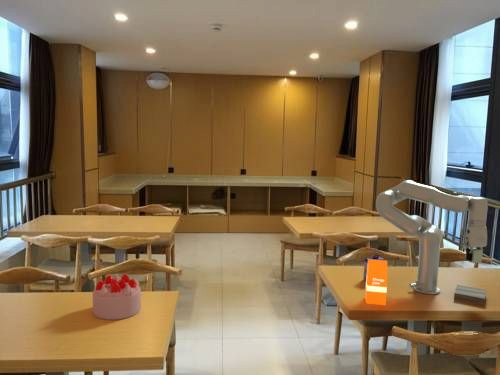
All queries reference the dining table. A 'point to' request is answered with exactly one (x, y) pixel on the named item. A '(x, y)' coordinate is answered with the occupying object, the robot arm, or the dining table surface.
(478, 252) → the sage block
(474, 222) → the robot arm
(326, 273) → the dining table surface
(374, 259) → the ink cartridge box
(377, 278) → the orange juice
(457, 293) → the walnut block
